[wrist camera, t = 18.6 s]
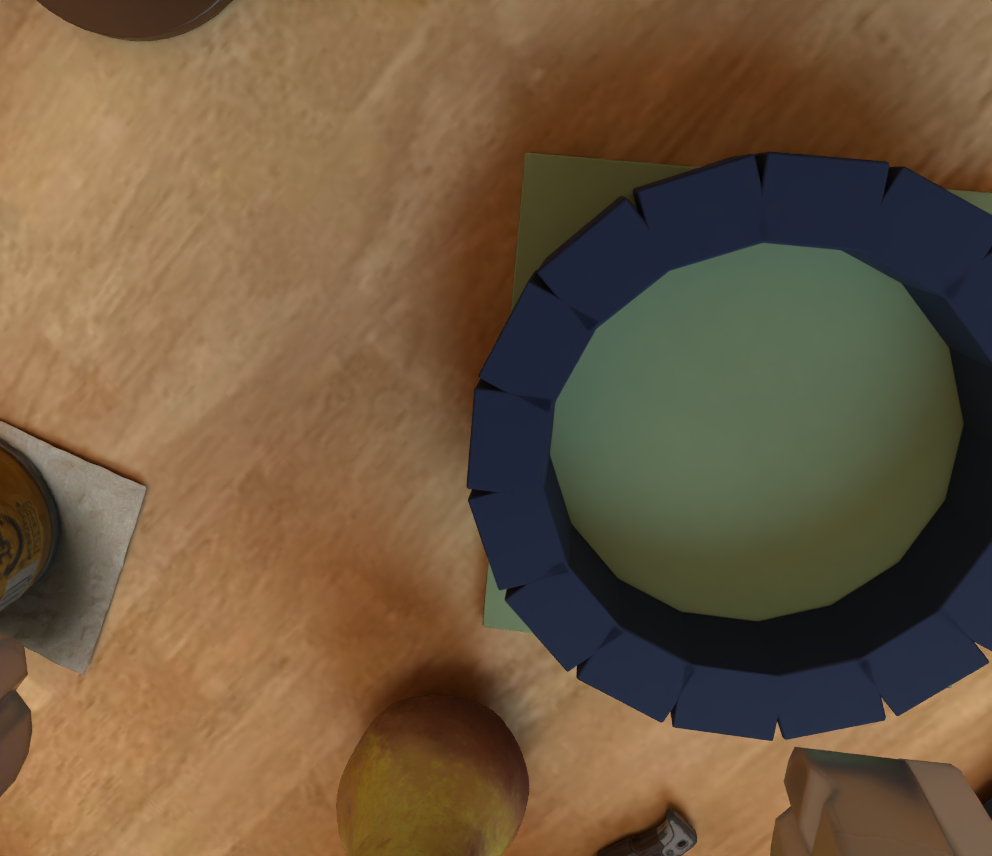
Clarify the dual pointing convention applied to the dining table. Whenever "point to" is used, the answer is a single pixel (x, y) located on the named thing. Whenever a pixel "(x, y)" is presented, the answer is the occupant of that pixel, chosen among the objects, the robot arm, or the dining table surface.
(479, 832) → the fruit
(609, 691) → the ring
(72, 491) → the condiment
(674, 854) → the knife
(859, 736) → the dining table surface
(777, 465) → the mat
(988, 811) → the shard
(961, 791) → the robot arm
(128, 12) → the stand
